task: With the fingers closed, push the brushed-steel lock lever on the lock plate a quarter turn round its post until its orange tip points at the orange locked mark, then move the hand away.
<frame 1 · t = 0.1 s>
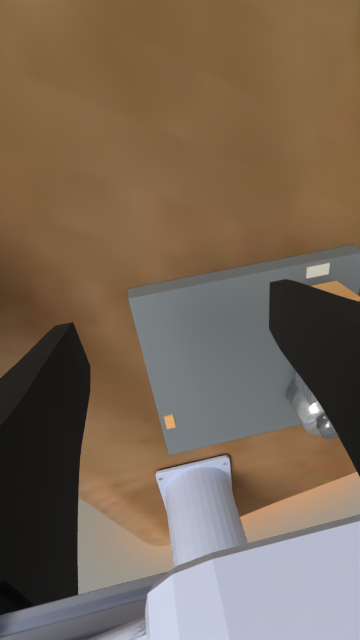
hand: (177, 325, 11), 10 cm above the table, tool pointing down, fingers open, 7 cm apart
lock plate: (245, 358, 26), on the table
lock lever: (321, 364, 23), point 3 cm above the table, hinge at 0.0°
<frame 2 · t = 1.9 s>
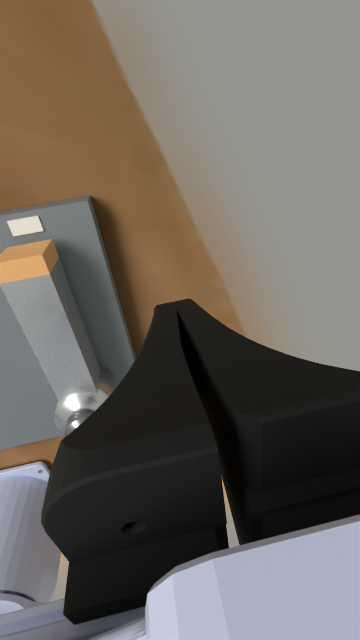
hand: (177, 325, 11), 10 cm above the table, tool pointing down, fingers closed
lock plate: (8, 344, 21), on the table
lock lever: (64, 349, 18), point 3 cm above the table, hinge at 0.0°
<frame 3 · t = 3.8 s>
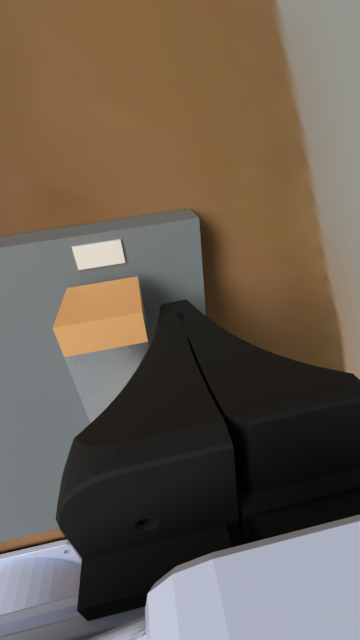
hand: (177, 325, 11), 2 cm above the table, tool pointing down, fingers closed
lock plate: (44, 407, 15), on the table
lock lever: (137, 433, 12), point 3 cm above the table, hinge at 0.3°, touching gripper
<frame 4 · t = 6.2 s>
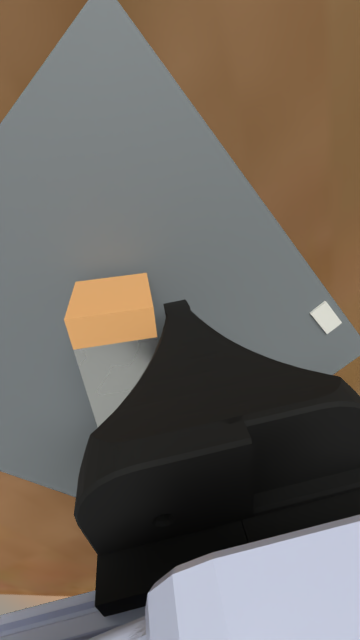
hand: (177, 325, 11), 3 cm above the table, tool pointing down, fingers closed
lock plate: (124, 351, 14), on the table
lock lever: (138, 430, 12), point 3 cm above the table, hinge at 50.9°, touching gripper
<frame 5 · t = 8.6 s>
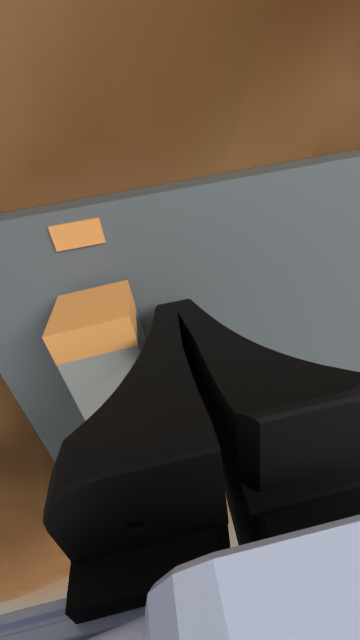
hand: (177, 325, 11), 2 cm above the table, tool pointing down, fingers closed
lock plate: (206, 357, 15), on the table
lock lever: (139, 435, 12), point 3 cm above the table, hinge at 92.0°, touching gripper
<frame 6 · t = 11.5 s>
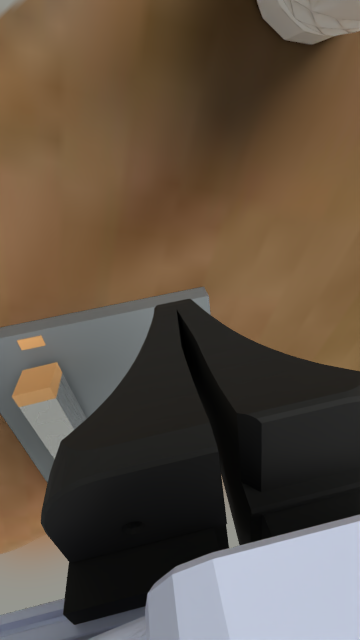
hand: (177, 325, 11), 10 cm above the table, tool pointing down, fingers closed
lock plate: (116, 392, 26), on the table
lock lever: (69, 437, 23), point 3 cm above the table, hinge at 92.1°
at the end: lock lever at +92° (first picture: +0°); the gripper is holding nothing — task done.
